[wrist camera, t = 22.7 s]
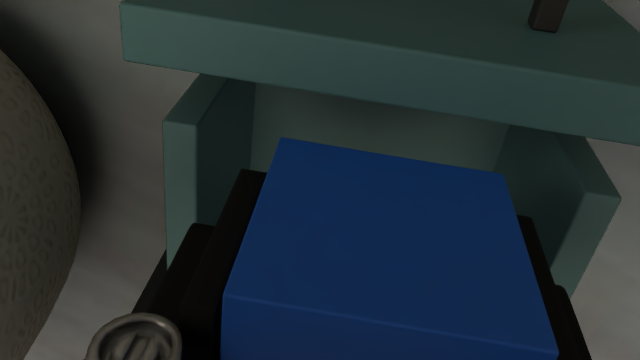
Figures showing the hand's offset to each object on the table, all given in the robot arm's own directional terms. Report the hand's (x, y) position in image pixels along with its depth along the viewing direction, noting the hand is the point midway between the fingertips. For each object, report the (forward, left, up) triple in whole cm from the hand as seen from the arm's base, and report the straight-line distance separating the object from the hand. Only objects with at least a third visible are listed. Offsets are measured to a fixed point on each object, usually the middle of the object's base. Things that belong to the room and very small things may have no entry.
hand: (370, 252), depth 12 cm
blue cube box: (0, 0, 0) cm, 0 cm away
